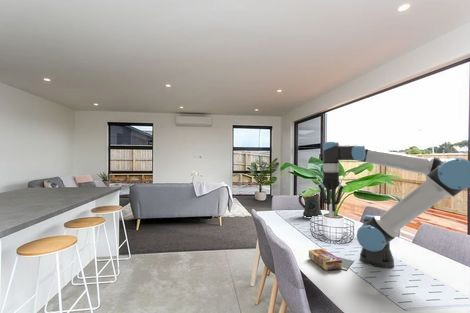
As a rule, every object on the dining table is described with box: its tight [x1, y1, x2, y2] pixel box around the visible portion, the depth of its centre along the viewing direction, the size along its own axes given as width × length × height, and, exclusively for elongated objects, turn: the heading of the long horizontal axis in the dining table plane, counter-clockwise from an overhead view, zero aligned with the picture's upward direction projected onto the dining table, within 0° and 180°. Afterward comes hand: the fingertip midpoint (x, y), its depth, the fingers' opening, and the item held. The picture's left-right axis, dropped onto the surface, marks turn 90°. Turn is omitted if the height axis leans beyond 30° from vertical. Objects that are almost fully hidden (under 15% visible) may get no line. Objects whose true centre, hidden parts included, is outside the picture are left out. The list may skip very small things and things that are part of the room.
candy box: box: [308, 248, 342, 271], centre depth 121 cm, size 9×4×15 cm
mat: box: [335, 255, 355, 272], centre depth 123 cm, size 14×14×1 cm
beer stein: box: [298, 193, 323, 217], centre depth 219 cm, size 16×19×25 cm
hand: (331, 217), depth 125 cm, fingers closed
